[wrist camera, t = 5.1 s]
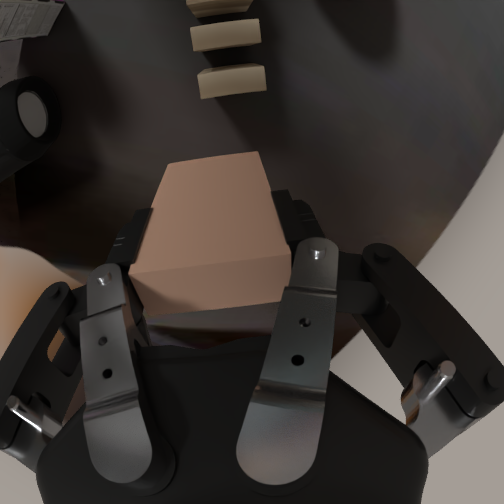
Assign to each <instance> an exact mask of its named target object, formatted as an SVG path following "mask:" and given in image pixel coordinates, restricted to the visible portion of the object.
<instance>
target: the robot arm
mask: <svg viewBox="0 0 504 504" xmlns="http://www.w3.org/2000/svg"><path fill="white" fill-rule="evenodd" d="M270 193H271V196H272V199H273V203H274V206H275V209H276V212H277V215H278V218H279V222H280V225H281V228H282V231H283V235H284V238H285V241H286V245H289V248H290V252H291V276H290V280H289V285H288V286H285V287H284V290H283V294H282V297H281V301H280V305H279V309H278V313H277V317H276V321H275V324H274V328H273V332H272V335H268V336H260V337H252V338H244V339H237V340H234V341H231V342H228V343H225V344H222V345H219V346H216V347H213V348H210V349H206V350H199V349H192V348H185V347H179V346H173V345H165V346H152V343H151V339H150V335H149V332H148V328H147V324H146V320H145V317H144V316H143V314H142V313H143V308H144V306H143V304H142V302H141V300H140V298H139V296H138V294H137V292H136V290H135V288H134V285H133V283H132V281H131V279H130V277H129V275H128V273H129V270H130V267H131V264H135V260H136V257H137V254H138V251H139V248H140V245H141V242H142V239H143V236H144V233H145V230H146V227H147V224H148V221H149V218H150V215H151V213H152V210H153V208H147V209H141V210H136V212H135V214H134V216H133V219H132V221H131V223H126V224H125V226H124V227H123V228H122V229H121V230H120V231H119V233H118V235H117V237H116V240H115V242H114V244H113V245H114V246H113V247H112V249H111V251H110V254H109V256H108V258H107V261H106V263H105V264H104V265H101V266H99V267H98V268H96V269H95V270H94V271H92V272H91V274H90V275H89V277H88V279H87V284H86V285H84V286H82V287H79V288H76V289H73V290H71V289H70V288H69V286H68V284H67V283H65V282H56V283H54V284H52V285H51V286H49V287H48V288H46V290H45V291H44V292H43V293H42V295H41V296H40V297H39V299H38V300H37V302H36V303H35V305H34V306H33V308H32V309H31V311H30V312H29V314H28V316H27V317H26V319H25V320H24V321H23V323H22V325H21V326H20V328H19V329H18V331H17V333H16V334H15V336H14V338H13V339H12V341H11V343H10V345H9V346H8V348H7V350H6V351H5V353H4V355H3V357H2V358H1V360H0V450H1V451H3V452H5V453H7V454H9V455H10V456H12V457H14V458H16V459H17V460H18V461H20V462H21V463H22V464H24V465H25V466H26V467H28V468H29V469H31V470H32V471H33V472H35V473H36V480H37V485H38V488H39V491H40V494H41V497H42V500H43V503H44V504H421V498H422V493H423V489H424V485H425V482H426V478H427V474H428V459H429V458H430V457H431V456H432V455H433V454H435V453H436V452H438V451H439V450H440V449H442V448H443V447H444V446H445V445H447V444H448V443H449V442H450V441H451V440H453V439H454V438H455V437H456V436H458V435H459V434H461V433H462V432H463V431H465V430H467V429H468V428H470V427H471V426H472V425H474V424H475V423H476V422H478V421H479V420H480V419H482V418H483V417H485V416H486V415H487V414H488V413H490V412H491V411H492V410H494V409H495V408H496V407H497V406H499V405H500V404H501V403H502V402H503V401H504V366H503V365H502V364H501V362H500V361H499V360H498V359H497V357H496V356H495V355H494V353H493V352H492V351H491V350H490V348H489V347H488V346H487V345H486V344H485V342H484V341H483V340H482V339H481V338H480V336H479V335H478V334H477V333H476V332H475V331H474V330H473V329H472V327H471V326H470V325H469V324H468V323H467V321H466V320H465V319H464V318H463V317H462V316H461V315H460V314H459V313H458V311H457V310H456V309H455V308H454V307H453V306H452V305H451V304H450V303H449V302H448V301H447V300H446V299H445V297H444V296H443V295H442V294H441V293H440V292H439V291H438V290H437V289H436V288H435V287H434V286H433V285H432V284H431V283H430V282H429V281H428V280H427V279H426V278H425V277H424V276H423V275H422V274H421V273H420V272H419V271H418V270H417V269H416V268H415V267H414V266H413V265H412V264H411V263H410V262H409V261H408V260H407V259H406V258H405V257H404V256H403V255H402V254H401V253H399V252H398V251H397V250H396V249H395V248H393V247H392V246H389V245H387V244H382V243H374V244H370V245H368V246H366V247H365V248H364V250H363V253H362V255H361V254H351V253H345V252H341V251H338V247H337V246H336V244H335V243H333V242H332V241H330V240H328V239H326V238H325V236H324V234H323V232H322V230H321V228H320V226H319V224H318V222H317V220H316V218H315V216H314V214H313V212H312V210H311V208H310V206H309V205H308V204H307V203H305V202H304V201H302V200H294V201H293V200H292V198H291V196H290V194H289V191H288V190H278V191H270ZM336 312H345V313H352V315H353V317H354V318H355V320H356V321H357V322H358V324H359V325H360V326H361V328H362V329H363V331H364V332H365V333H366V335H367V336H368V337H369V339H370V340H371V342H372V343H373V344H374V346H375V347H376V349H377V350H378V351H379V353H380V354H381V356H382V357H383V358H384V360H385V361H386V363H387V364H388V365H389V367H390V368H391V370H392V371H393V373H394V374H395V375H396V377H397V378H398V380H399V381H400V383H401V384H402V386H403V387H404V390H403V392H402V394H401V405H402V408H403V410H404V412H405V415H406V425H405V424H403V423H402V422H401V421H399V420H398V419H396V418H395V417H393V416H392V415H390V414H389V413H387V412H386V411H385V410H383V409H382V408H380V407H379V406H378V405H376V404H375V403H373V402H372V401H371V400H369V399H368V398H367V397H365V396H364V395H362V394H361V393H360V392H358V391H357V390H355V389H354V388H353V387H351V386H350V385H349V384H347V383H346V382H345V381H343V380H342V379H341V378H339V377H338V376H337V375H335V374H334V373H333V372H331V371H330V370H329V367H330V360H331V352H332V343H333V334H334V324H335V313H336ZM58 329H59V330H60V332H61V333H62V334H63V335H64V336H65V338H64V340H63V342H62V344H61V346H60V348H59V349H58V351H57V353H56V355H55V357H54V359H53V361H52V362H51V361H50V360H49V358H48V355H47V350H48V347H49V345H50V343H51V341H52V340H53V338H54V336H55V334H56V333H57V331H58ZM82 375H83V379H84V388H85V396H86V402H85V403H84V404H83V405H82V406H81V407H80V409H79V410H78V411H77V412H76V413H75V414H74V415H73V416H72V418H71V419H70V420H69V421H68V422H67V423H66V424H65V425H64V427H62V421H63V418H64V416H65V414H66V411H67V409H68V407H69V404H70V402H71V400H72V397H73V395H74V393H75V390H76V388H77V386H78V384H79V382H80V380H81V377H82Z"/></svg>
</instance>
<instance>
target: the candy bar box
mask: <svg viewBox="0 0 504 504" xmlns="http://www.w3.org/2000/svg"><path fill="white" fill-rule="evenodd" d="M64 4H65V1H62V0H0V42H5V41H11V40H18V39H26V38H35V37H47V36H48V34H49V33H50V31H51V29H52V27H53V24H54V22H55V20H56V18H57V16H58V15H59V13H60V11H61V9H62V8H63V6H64Z"/></svg>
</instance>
